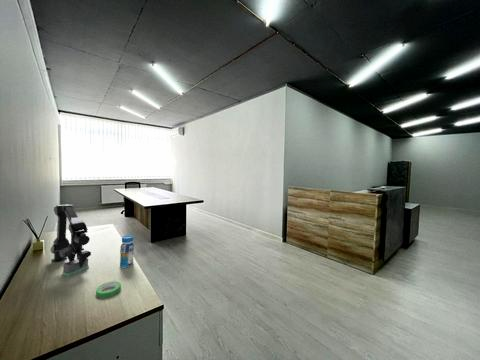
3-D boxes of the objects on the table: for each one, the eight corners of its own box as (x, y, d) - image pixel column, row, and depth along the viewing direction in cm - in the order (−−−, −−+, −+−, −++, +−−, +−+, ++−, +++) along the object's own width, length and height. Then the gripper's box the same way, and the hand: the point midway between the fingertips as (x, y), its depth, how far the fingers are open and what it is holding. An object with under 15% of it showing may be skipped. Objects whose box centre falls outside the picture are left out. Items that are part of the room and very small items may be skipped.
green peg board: (62, 274, 119) (62, 267, 119) (83, 266, 131) (83, 259, 131) (67, 276, 118) (67, 269, 118) (88, 267, 129) (88, 261, 129)
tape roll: (102, 301, 98) (102, 295, 98) (92, 293, 104) (92, 288, 104) (124, 290, 107) (124, 285, 107) (114, 283, 113) (114, 279, 113)
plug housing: (63, 271, 120) (63, 263, 120) (82, 264, 130) (83, 256, 130) (68, 273, 118) (68, 265, 118) (87, 265, 128) (88, 258, 128)
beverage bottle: (118, 264, 135) (119, 236, 135) (132, 261, 141) (133, 234, 140) (120, 269, 129) (121, 239, 128) (134, 266, 134) (135, 237, 134)
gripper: (52, 243, 119) (51, 268, 120) (71, 248, 113) (70, 274, 113) (72, 237, 130) (72, 260, 130) (91, 242, 123) (91, 266, 124)
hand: (76, 265), depth 124 cm, fingers open, 9 cm apart
